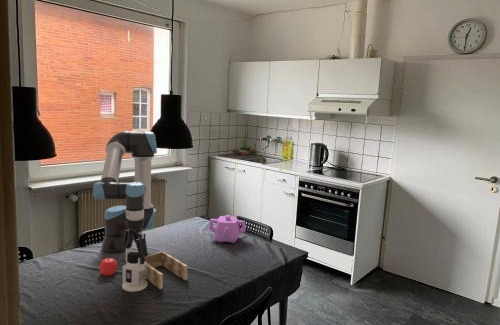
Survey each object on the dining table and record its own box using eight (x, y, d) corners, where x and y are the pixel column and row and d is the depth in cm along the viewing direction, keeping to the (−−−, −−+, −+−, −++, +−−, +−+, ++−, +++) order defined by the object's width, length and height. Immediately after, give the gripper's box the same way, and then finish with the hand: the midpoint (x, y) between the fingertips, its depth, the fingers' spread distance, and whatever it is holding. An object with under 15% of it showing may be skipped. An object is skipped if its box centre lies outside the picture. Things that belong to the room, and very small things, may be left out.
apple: (120, 271, 182) (120, 256, 181) (109, 279, 175) (109, 262, 173) (107, 268, 185) (107, 253, 183) (95, 275, 177) (95, 259, 176)
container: (138, 285, 165) (138, 257, 163) (122, 283, 167) (122, 255, 164) (146, 277, 173) (147, 250, 170) (131, 275, 174) (131, 248, 172)
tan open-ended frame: (136, 272, 183) (136, 258, 181) (162, 263, 193) (162, 250, 191) (160, 289, 168) (160, 274, 167) (187, 279, 178) (187, 265, 177)
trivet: (117, 284, 170) (117, 283, 170) (140, 277, 178) (140, 276, 178) (129, 294, 162) (129, 293, 162) (152, 286, 170) (152, 285, 170)
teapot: (225, 248, 216) (226, 223, 214) (204, 239, 229) (205, 215, 226) (248, 240, 230) (250, 216, 228) (227, 232, 242) (228, 209, 240)
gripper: (114, 213, 170) (115, 259, 174) (140, 227, 154) (140, 277, 158) (130, 210, 175) (130, 255, 179) (156, 223, 159) (156, 272, 163)
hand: (135, 265), depth 168 cm, fingers closed on container, 10 cm apart
